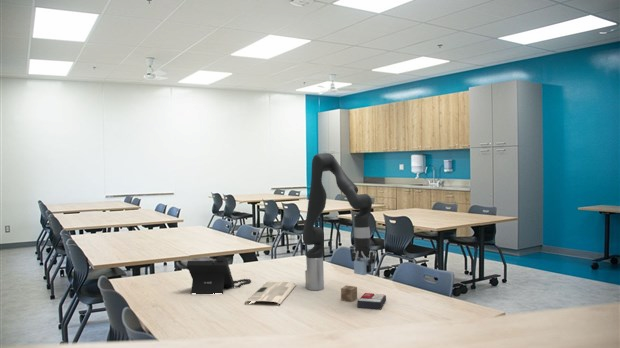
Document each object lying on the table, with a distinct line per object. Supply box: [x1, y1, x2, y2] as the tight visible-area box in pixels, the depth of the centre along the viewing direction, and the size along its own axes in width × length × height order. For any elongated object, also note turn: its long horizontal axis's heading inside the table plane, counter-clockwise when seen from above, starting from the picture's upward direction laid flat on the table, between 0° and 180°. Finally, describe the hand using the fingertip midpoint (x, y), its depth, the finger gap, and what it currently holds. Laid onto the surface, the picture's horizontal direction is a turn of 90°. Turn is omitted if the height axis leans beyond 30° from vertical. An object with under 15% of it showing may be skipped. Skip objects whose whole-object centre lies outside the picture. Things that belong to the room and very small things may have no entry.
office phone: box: [186, 255, 252, 295], centre depth 252 cm, size 29×28×20 cm
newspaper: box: [244, 280, 297, 307], centre depth 236 cm, size 37×19×3 cm, turn 169°
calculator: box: [356, 292, 387, 311], centre depth 216 cm, size 11×4×15 cm
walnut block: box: [340, 285, 358, 303], centre depth 224 cm, size 6×6×6 cm
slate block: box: [353, 258, 373, 276], centre depth 214 cm, size 6×6×6 cm
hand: (363, 271), depth 214 cm, fingers closed on slate block, 6 cm apart
